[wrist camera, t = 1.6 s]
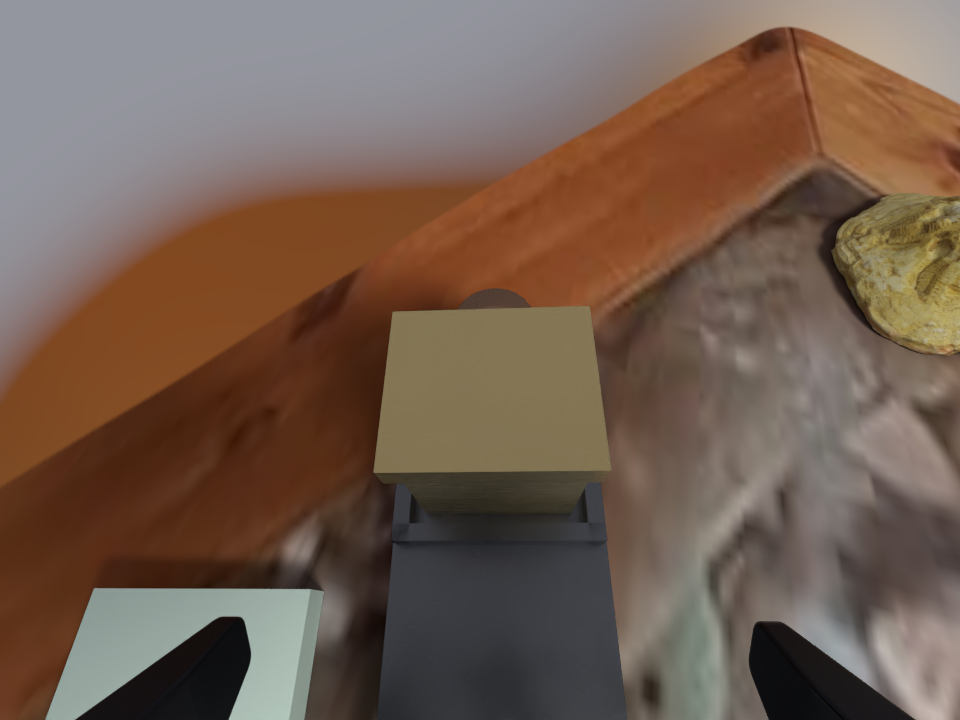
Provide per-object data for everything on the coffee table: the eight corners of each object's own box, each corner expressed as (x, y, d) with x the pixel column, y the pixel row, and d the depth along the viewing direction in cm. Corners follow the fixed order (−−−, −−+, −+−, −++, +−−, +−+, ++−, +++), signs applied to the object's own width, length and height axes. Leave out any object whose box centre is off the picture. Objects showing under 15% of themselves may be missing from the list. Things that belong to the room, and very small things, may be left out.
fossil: (879, 124, 23) (1098, 127, 23) (806, 195, 29) (979, 199, 28) (916, 335, 21) (1168, 346, 20) (828, 368, 26) (1020, 377, 26)
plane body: (638, 979, 14) (713, 1188, 9) (376, 967, 15) (301, 1159, 9) (572, 350, 25) (589, 278, 20) (423, 353, 25) (400, 284, 20)
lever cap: (571, 531, 18) (611, 470, 11) (426, 531, 18) (373, 473, 11) (562, 416, 20) (589, 306, 13) (433, 419, 20) (392, 311, 13)
